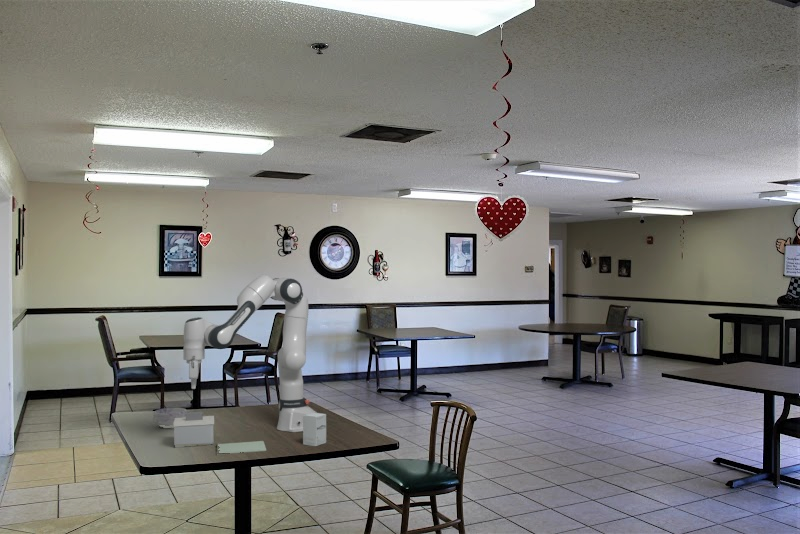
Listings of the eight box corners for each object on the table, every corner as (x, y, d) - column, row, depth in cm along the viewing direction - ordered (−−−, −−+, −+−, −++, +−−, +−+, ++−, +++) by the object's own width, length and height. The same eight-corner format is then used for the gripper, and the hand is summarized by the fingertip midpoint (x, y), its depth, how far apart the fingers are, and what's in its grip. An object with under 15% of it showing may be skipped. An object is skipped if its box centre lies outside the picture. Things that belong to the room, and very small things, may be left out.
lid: (214, 421, 308) (213, 408, 308) (214, 426, 296) (214, 414, 296) (175, 423, 304) (174, 411, 304) (173, 429, 292) (173, 416, 292)
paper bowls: (176, 430, 325) (176, 413, 326) (147, 429, 328) (147, 412, 329) (192, 424, 340) (192, 407, 340) (164, 423, 343) (164, 406, 344)
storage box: (213, 438, 308) (213, 418, 308) (213, 445, 296) (213, 424, 296) (175, 441, 304) (175, 420, 304) (174, 447, 292) (174, 426, 292)
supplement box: (316, 446, 292) (315, 416, 292) (302, 444, 296) (302, 415, 296) (326, 443, 298) (326, 413, 298) (313, 441, 302) (313, 412, 302)
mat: (263, 442, 301) (263, 440, 301) (266, 450, 285) (266, 449, 285) (215, 445, 296) (215, 444, 296) (216, 454, 280) (216, 453, 280)
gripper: (201, 357, 291) (201, 390, 291) (201, 352, 311) (201, 383, 311) (185, 357, 290) (185, 391, 289) (187, 353, 309) (187, 383, 309)
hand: (193, 387), depth 300 cm, fingers open, 8 cm apart
